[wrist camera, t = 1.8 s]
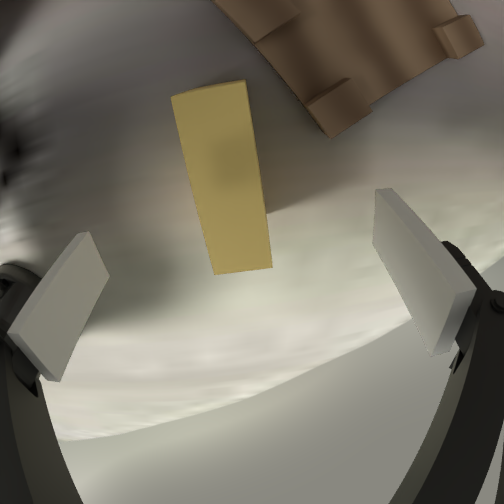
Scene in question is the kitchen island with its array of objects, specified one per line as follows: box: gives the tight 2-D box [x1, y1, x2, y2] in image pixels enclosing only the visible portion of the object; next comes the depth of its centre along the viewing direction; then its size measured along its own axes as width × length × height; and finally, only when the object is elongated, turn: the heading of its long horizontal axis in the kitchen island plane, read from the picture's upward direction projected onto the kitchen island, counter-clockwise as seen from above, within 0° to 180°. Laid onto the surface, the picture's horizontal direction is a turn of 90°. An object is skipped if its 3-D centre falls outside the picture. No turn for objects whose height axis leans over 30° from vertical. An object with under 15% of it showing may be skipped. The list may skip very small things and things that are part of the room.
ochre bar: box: [171, 79, 273, 275], centre depth 21 cm, size 12×4×8 cm, turn 8°
